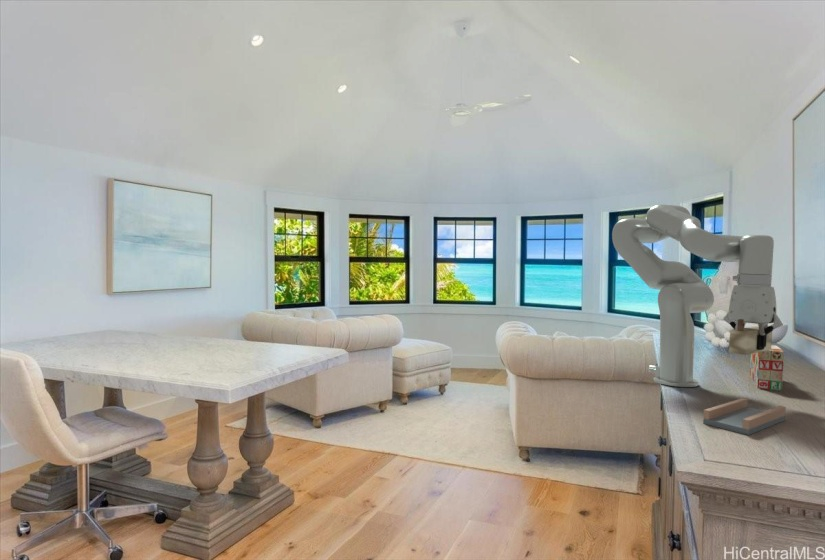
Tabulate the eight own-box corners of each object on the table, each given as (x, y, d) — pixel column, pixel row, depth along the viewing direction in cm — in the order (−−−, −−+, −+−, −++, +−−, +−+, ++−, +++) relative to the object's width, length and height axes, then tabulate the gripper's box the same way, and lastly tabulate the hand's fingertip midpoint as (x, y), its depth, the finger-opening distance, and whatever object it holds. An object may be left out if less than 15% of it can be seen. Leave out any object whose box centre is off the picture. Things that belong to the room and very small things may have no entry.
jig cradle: (703, 423, 116) (703, 409, 116) (741, 410, 127) (742, 398, 127) (748, 435, 108) (749, 420, 108) (785, 420, 119) (785, 407, 119)
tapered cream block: (728, 352, 133) (730, 318, 132) (754, 347, 142) (756, 315, 141) (745, 354, 129) (747, 320, 129) (771, 349, 138) (773, 317, 138)
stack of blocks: (749, 375, 171) (750, 340, 170) (771, 378, 168) (772, 341, 167) (757, 388, 152) (758, 348, 151) (782, 391, 149) (784, 350, 148)
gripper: (714, 279, 139) (711, 344, 140) (785, 282, 125) (781, 354, 126) (727, 279, 143) (723, 342, 144) (796, 282, 130) (792, 352, 131)
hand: (750, 347), depth 135 cm, fingers closed on tapered cream block, 4 cm apart
